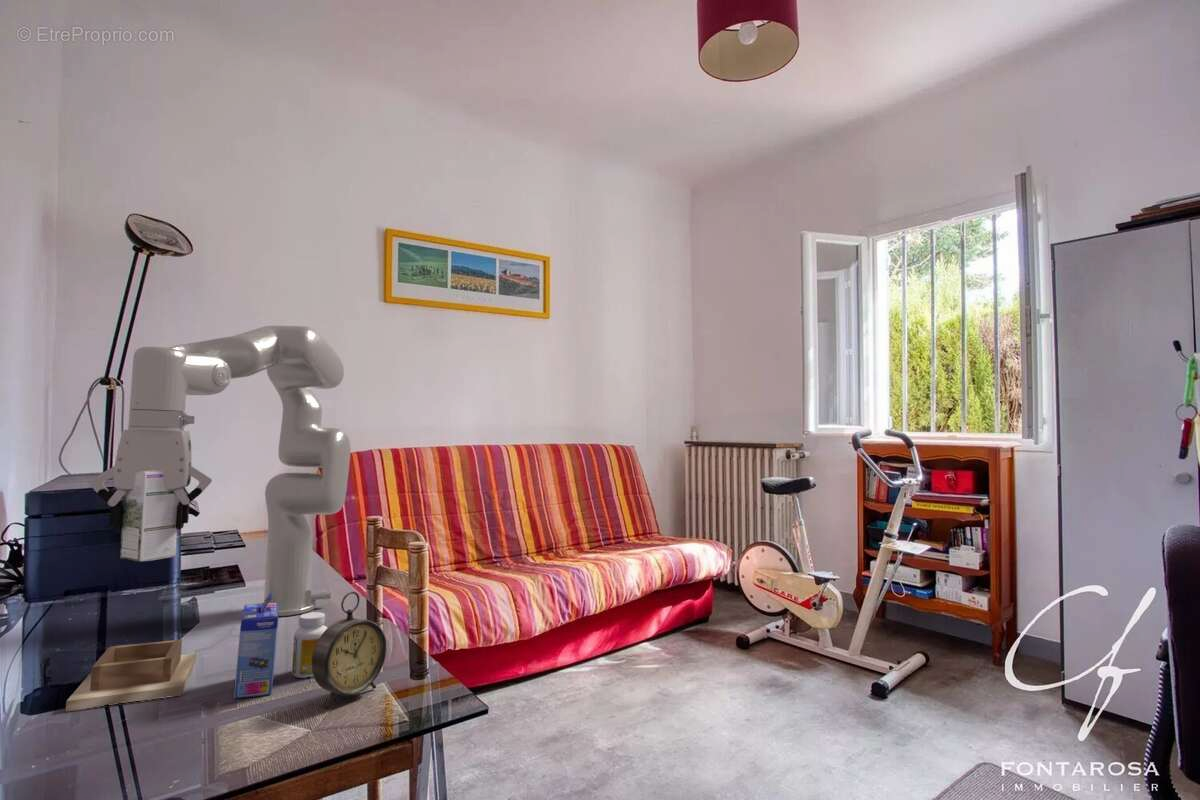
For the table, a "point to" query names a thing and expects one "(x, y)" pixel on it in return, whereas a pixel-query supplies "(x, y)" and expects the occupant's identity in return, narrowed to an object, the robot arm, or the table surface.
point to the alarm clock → (349, 655)
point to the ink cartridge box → (257, 649)
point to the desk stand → (134, 675)
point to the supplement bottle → (306, 643)
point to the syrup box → (149, 519)
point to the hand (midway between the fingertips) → (149, 528)
